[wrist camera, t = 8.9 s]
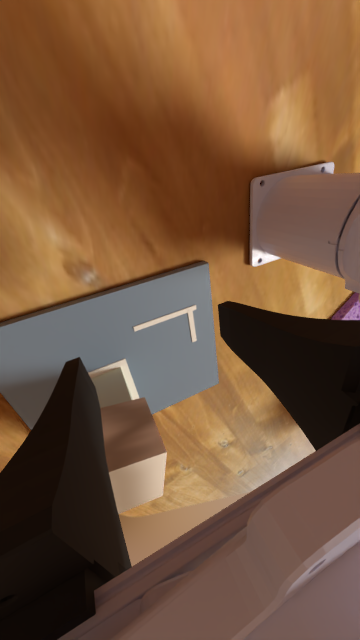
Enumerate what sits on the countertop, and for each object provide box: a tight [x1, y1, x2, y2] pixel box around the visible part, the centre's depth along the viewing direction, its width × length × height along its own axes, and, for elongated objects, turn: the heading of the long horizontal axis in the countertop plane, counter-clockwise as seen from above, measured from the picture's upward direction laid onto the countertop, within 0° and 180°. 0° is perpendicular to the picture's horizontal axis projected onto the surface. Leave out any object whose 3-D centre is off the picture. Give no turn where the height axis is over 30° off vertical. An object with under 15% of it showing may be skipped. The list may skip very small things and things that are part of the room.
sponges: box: [331, 292, 360, 320], centre depth 37 cm, size 7×13×2 cm, turn 136°
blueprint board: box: [0, 261, 219, 430], centre depth 24 cm, size 20×16×1 cm
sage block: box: [91, 367, 133, 408], centre depth 22 cm, size 5×5×5 cm
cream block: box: [100, 397, 167, 514], centre depth 18 cm, size 5×5×5 cm
